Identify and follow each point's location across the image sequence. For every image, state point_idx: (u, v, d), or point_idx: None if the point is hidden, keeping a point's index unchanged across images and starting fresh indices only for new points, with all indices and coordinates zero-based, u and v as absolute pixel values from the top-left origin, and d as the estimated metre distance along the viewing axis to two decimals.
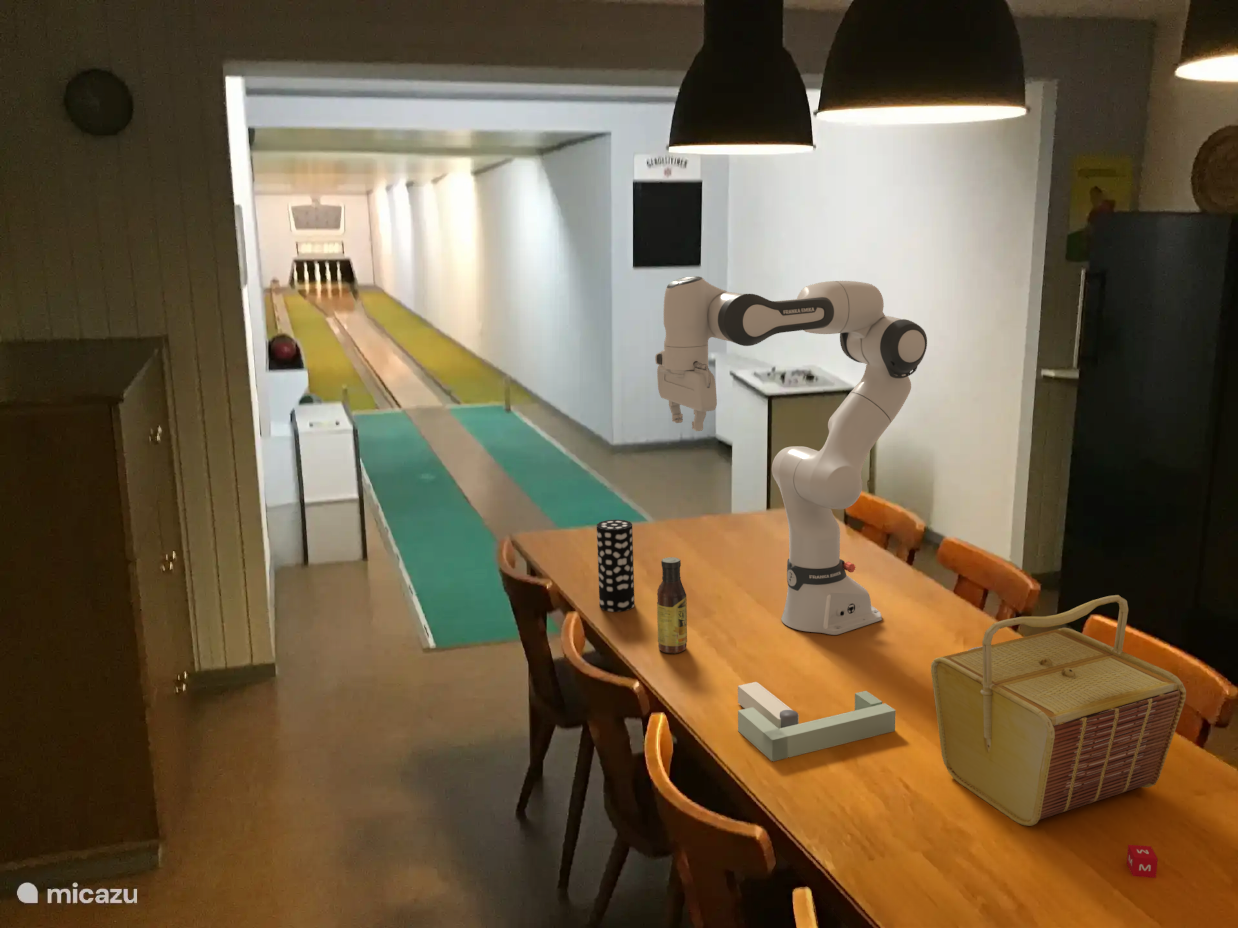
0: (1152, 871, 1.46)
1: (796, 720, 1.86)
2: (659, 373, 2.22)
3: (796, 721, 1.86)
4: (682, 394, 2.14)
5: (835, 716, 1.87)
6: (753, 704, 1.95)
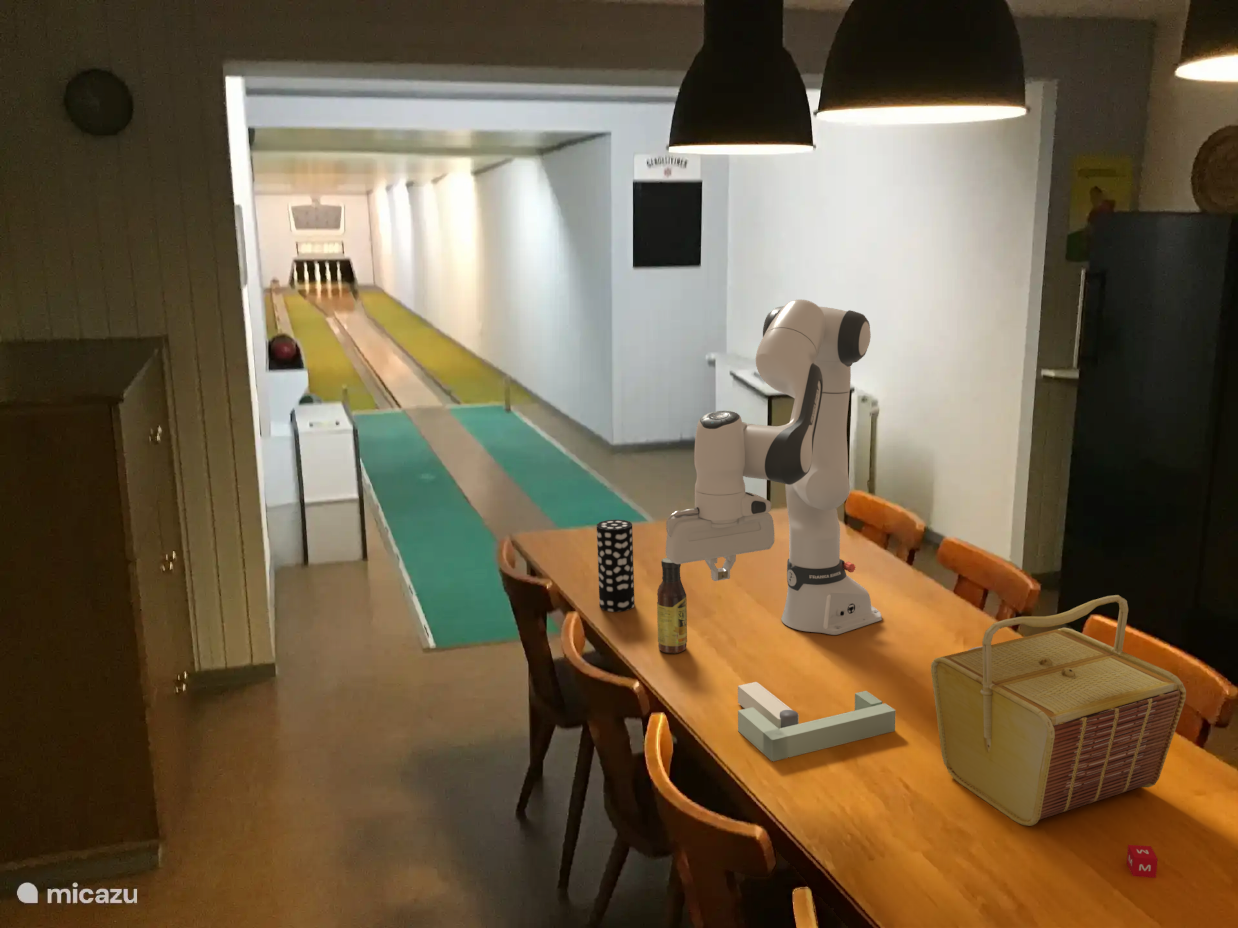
0: (1152, 871, 1.46)
1: (796, 720, 1.86)
2: None
3: (796, 721, 1.86)
4: None
5: (835, 716, 1.87)
6: (753, 704, 1.95)
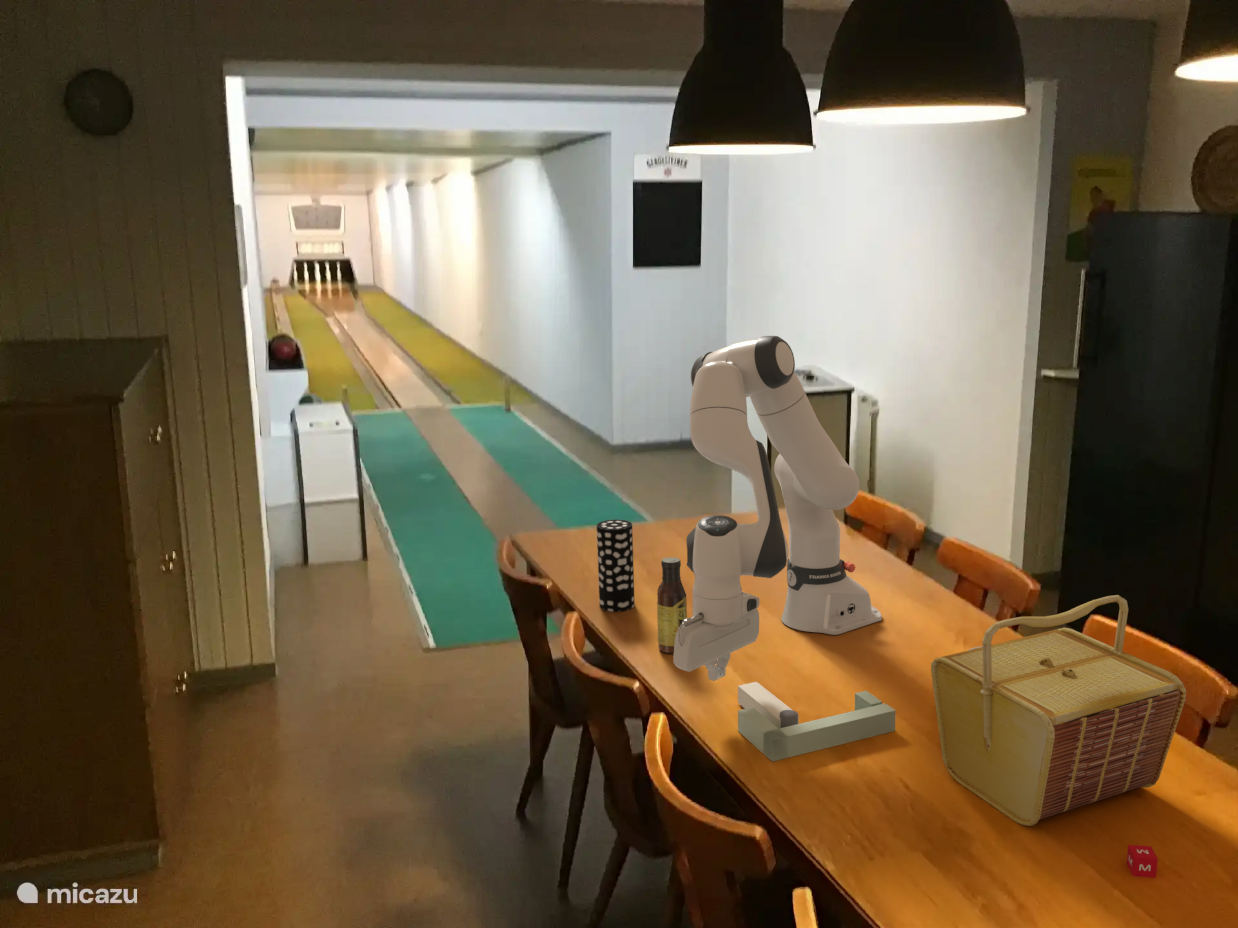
0: (1152, 871, 1.46)
1: (796, 720, 1.86)
2: None
3: (796, 721, 1.86)
4: None
5: (835, 716, 1.87)
6: (753, 704, 1.95)
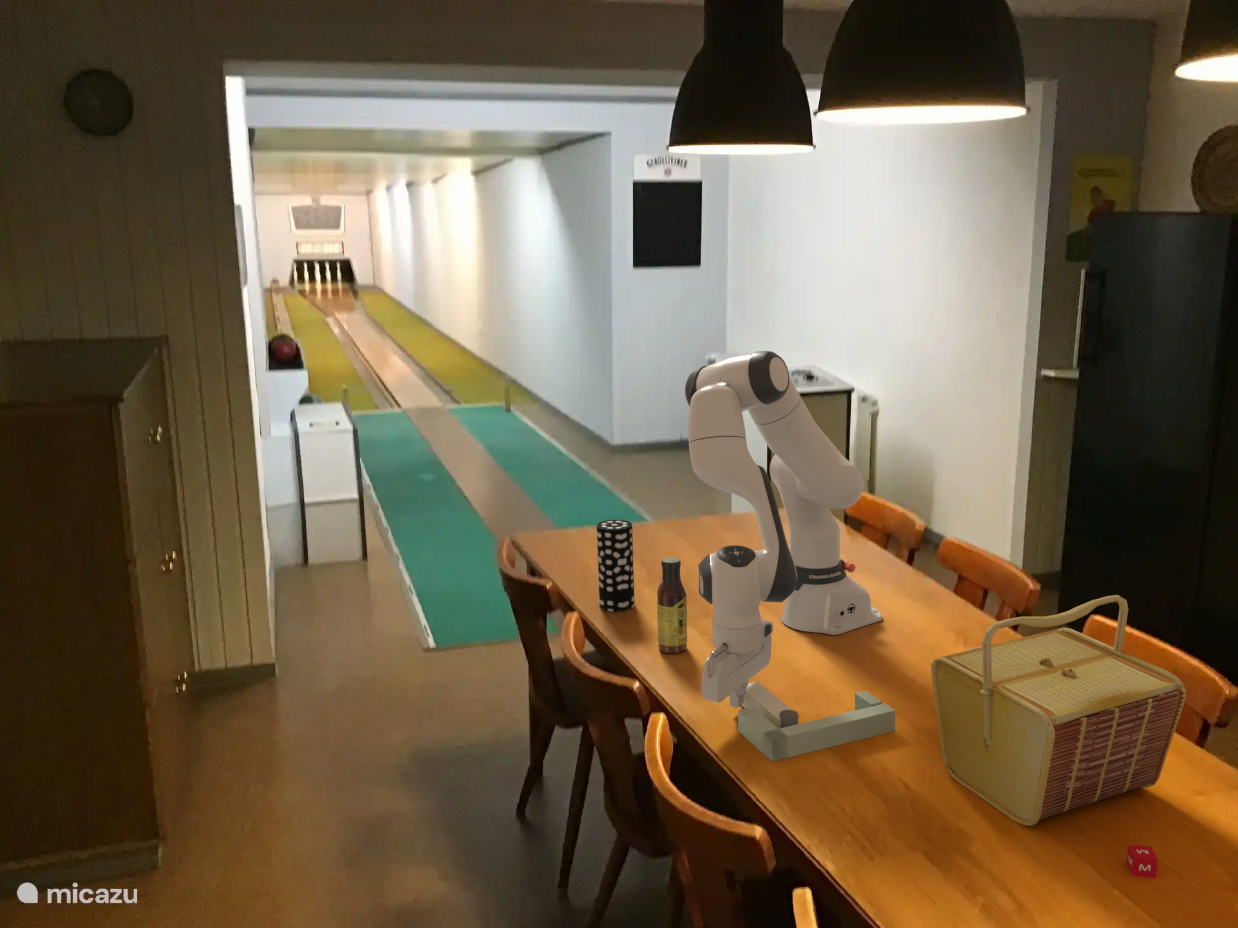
0: (1152, 871, 1.46)
1: (796, 720, 1.86)
2: None
3: (796, 721, 1.86)
4: None
5: (835, 716, 1.87)
6: (753, 704, 1.95)
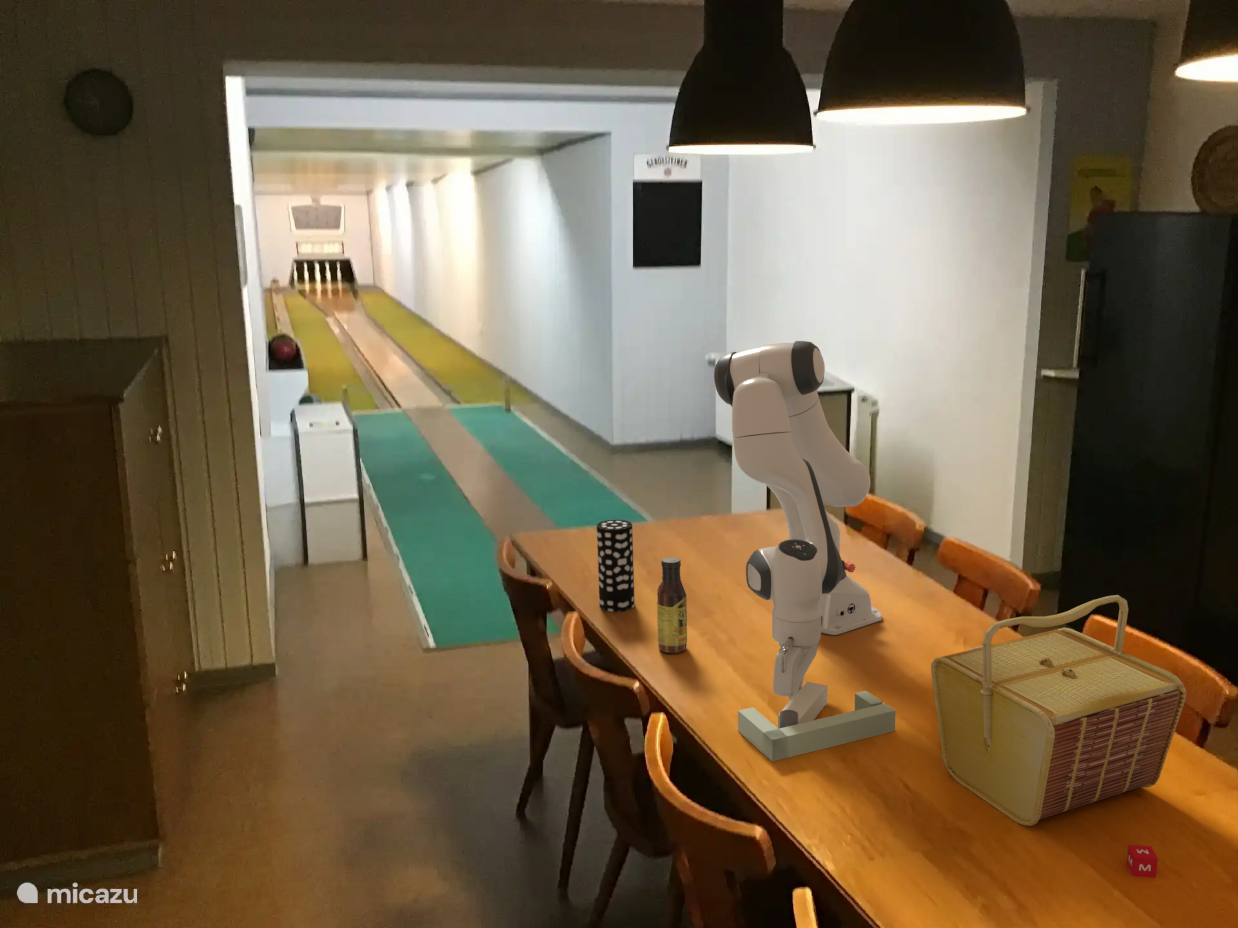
0: (1152, 871, 1.46)
1: (789, 722, 1.86)
2: None
3: (789, 723, 1.86)
4: None
5: (835, 716, 1.87)
6: None
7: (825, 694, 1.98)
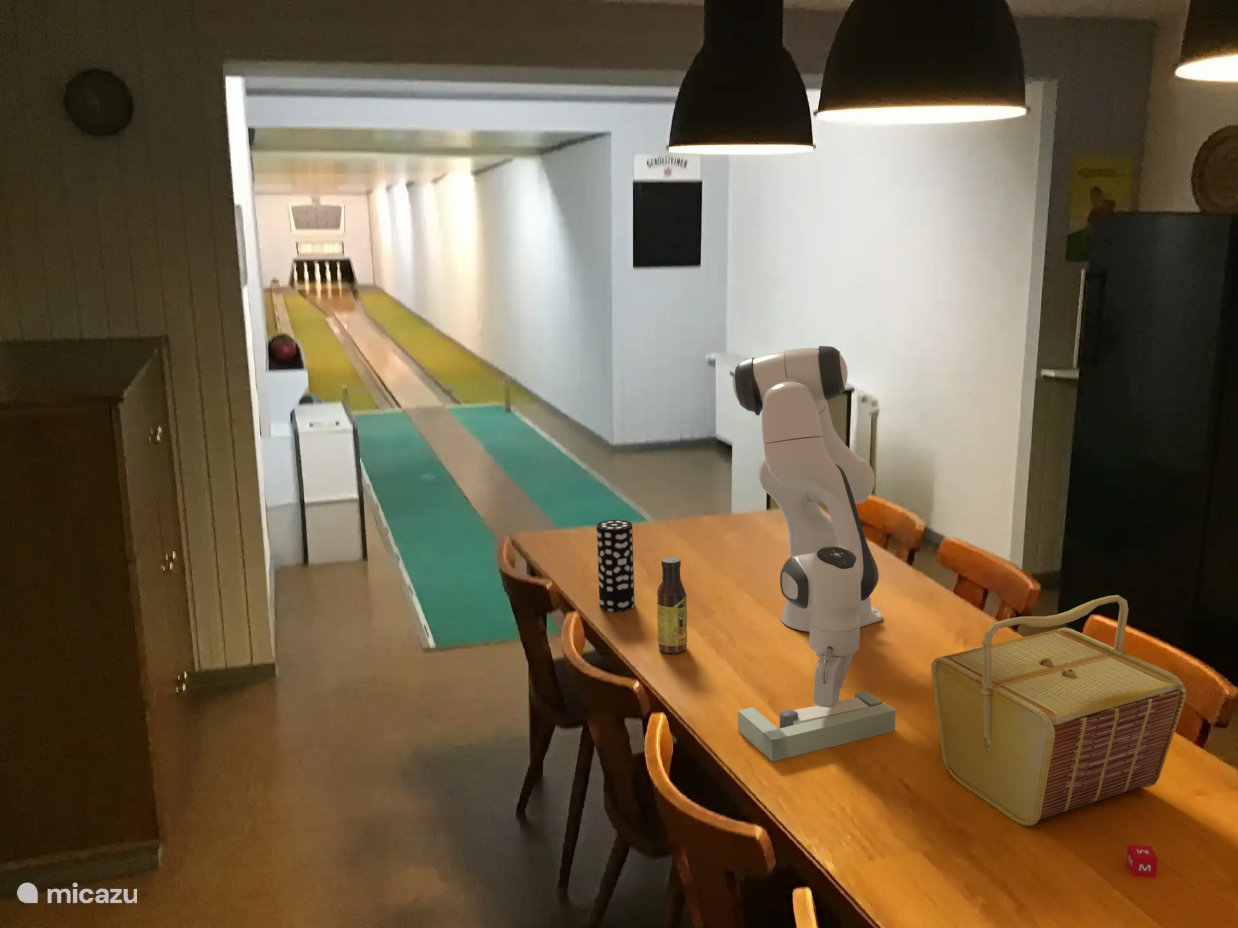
0: (1152, 871, 1.46)
1: (783, 721, 1.86)
2: None
3: (783, 722, 1.86)
4: None
5: (835, 716, 1.87)
6: None
7: None
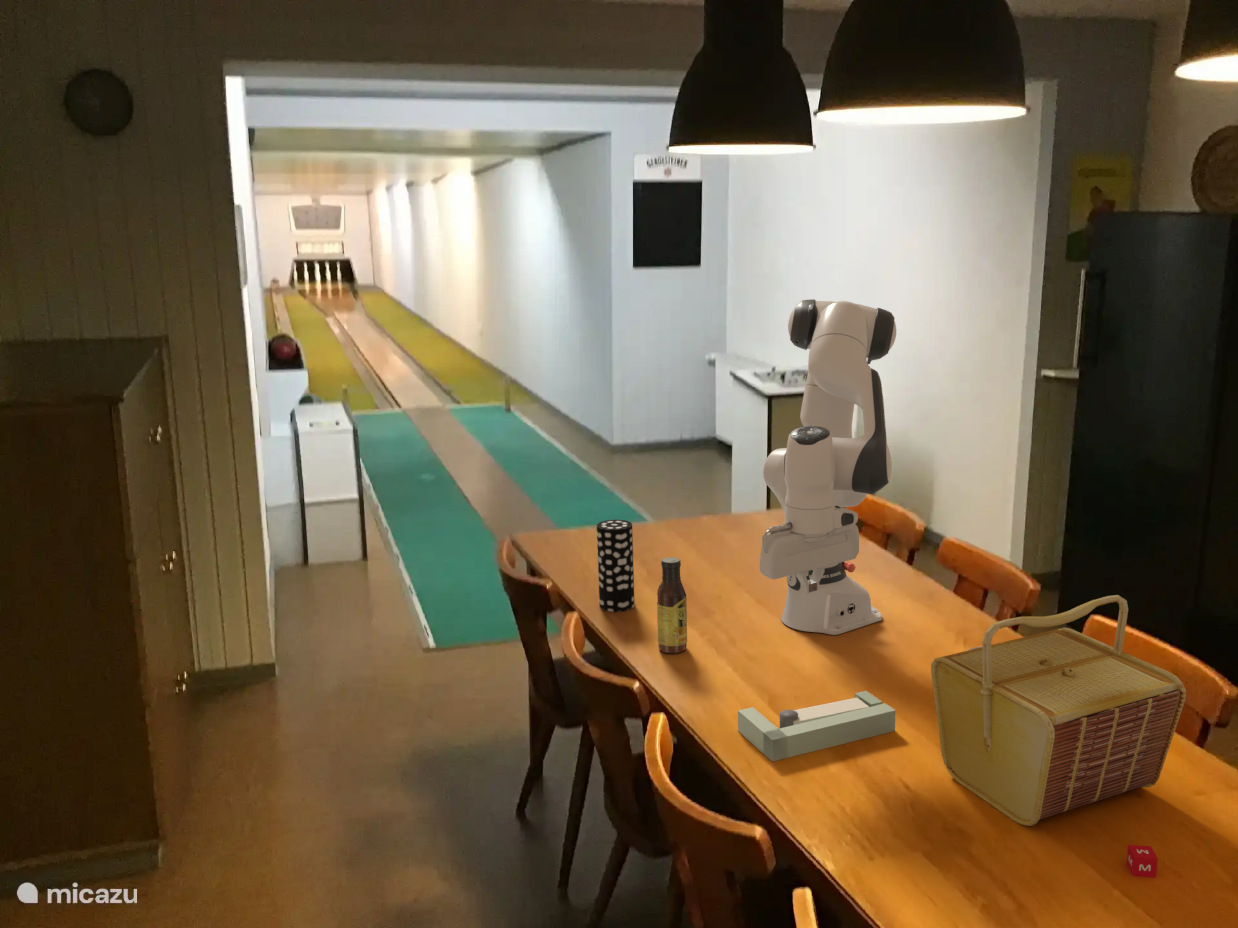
0: (1152, 871, 1.46)
1: (783, 721, 1.86)
2: None
3: (783, 722, 1.86)
4: None
5: (835, 716, 1.87)
6: None
7: None
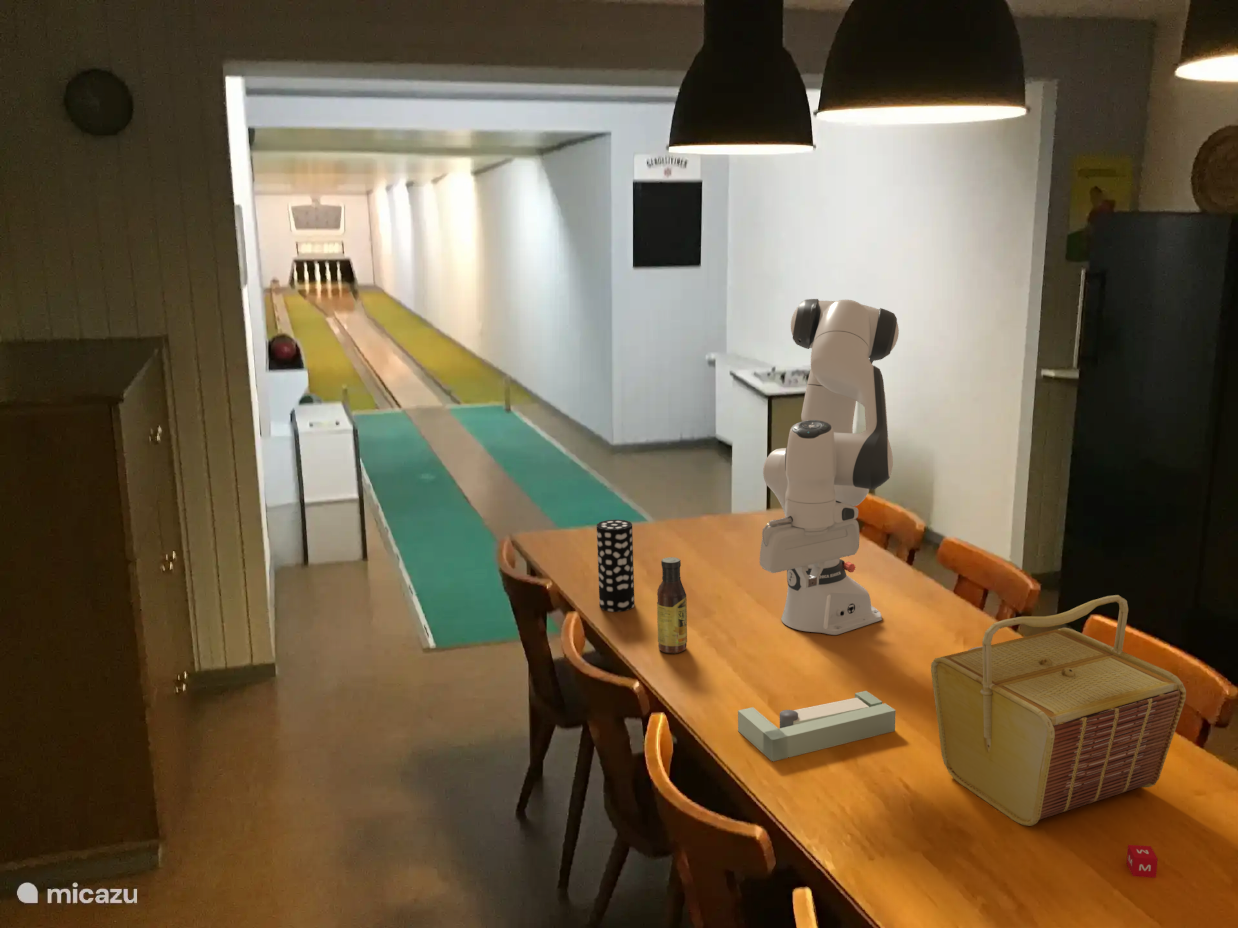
0: (1152, 871, 1.46)
1: (783, 721, 1.86)
2: None
3: (783, 722, 1.86)
4: None
5: (835, 716, 1.87)
6: None
7: None
